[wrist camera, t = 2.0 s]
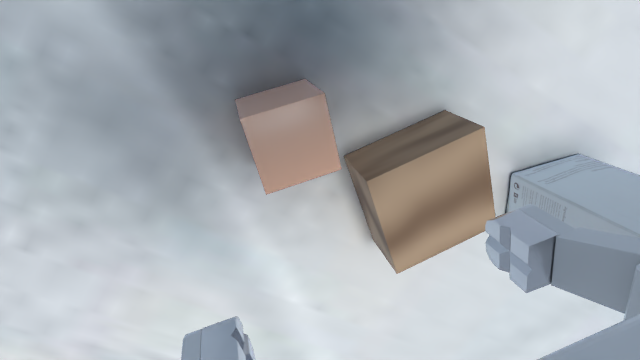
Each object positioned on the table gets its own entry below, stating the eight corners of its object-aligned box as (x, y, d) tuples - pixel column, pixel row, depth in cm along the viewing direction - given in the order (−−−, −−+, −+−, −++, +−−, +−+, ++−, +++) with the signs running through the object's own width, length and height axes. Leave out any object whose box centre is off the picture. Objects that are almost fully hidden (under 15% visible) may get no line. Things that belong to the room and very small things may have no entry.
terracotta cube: (234, 99, 24) (239, 119, 20) (304, 78, 25) (324, 93, 20) (257, 164, 26) (266, 194, 22) (321, 143, 27) (341, 169, 23)
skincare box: (503, 222, 36) (668, 342, 23) (509, 168, 33) (701, 270, 20) (572, 201, 37) (765, 303, 24) (584, 148, 34) (808, 231, 22)
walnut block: (342, 155, 28) (366, 181, 24) (443, 109, 29) (484, 127, 25) (372, 238, 33) (397, 273, 28) (459, 197, 33) (496, 225, 29)
